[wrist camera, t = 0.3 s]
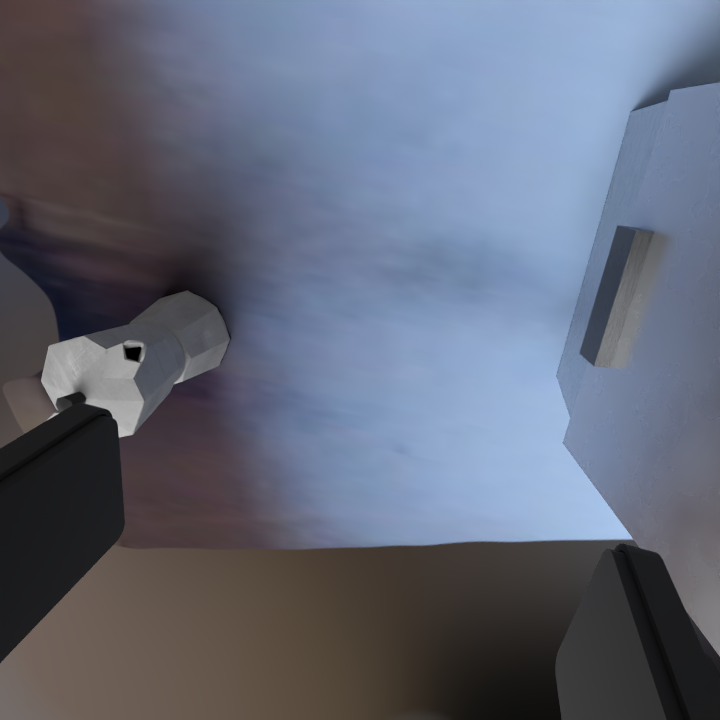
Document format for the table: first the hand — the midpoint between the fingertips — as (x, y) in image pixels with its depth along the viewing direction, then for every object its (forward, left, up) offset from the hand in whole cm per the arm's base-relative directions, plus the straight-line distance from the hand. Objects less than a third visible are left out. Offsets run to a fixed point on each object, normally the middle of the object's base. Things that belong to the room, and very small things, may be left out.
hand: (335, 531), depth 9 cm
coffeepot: (+14, -26, -38) cm, 48 cm away
